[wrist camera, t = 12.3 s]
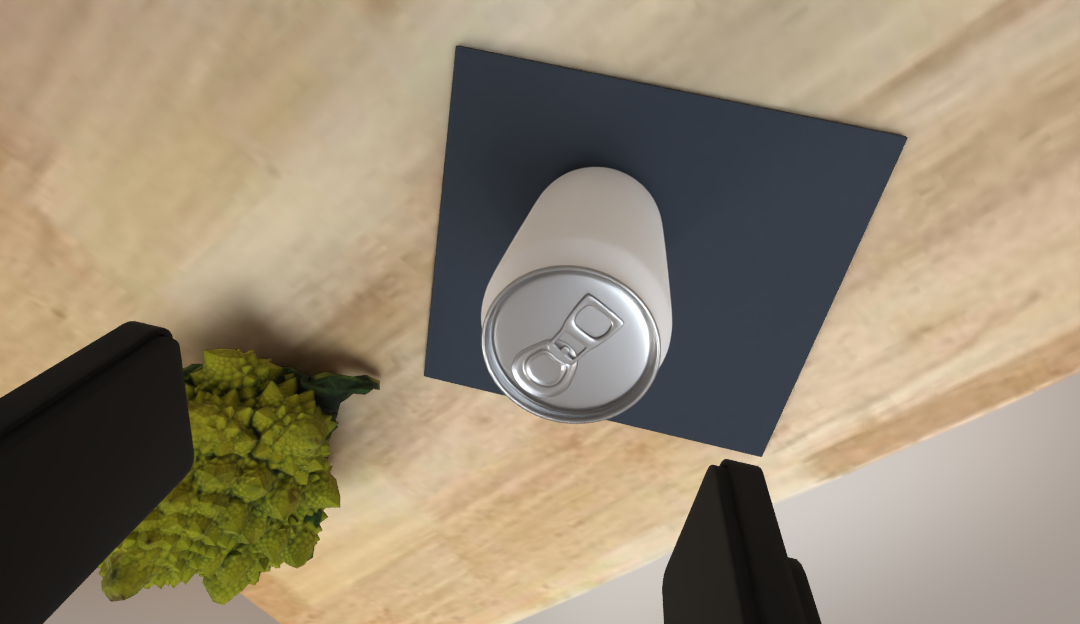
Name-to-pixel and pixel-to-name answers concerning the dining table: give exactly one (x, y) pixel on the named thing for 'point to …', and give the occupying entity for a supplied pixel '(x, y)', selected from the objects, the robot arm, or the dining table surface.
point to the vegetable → (240, 479)
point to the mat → (688, 225)
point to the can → (580, 300)
